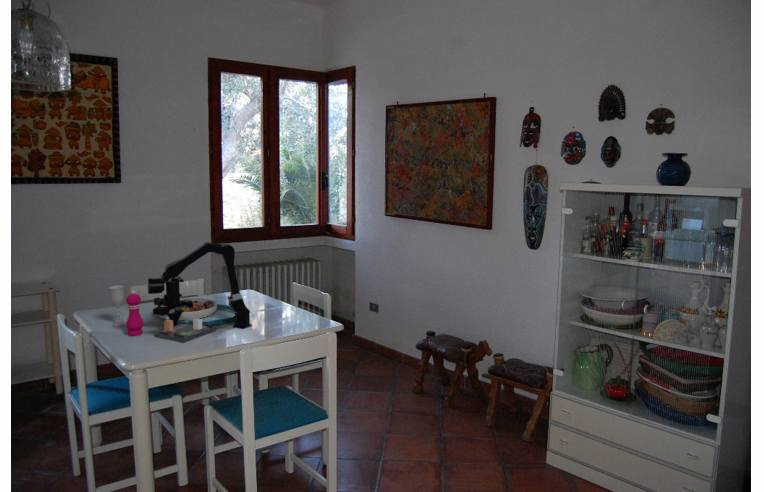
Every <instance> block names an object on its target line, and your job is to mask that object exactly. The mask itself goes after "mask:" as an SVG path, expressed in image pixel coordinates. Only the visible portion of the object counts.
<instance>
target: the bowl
mask: <svg viewBox="0 0 764 492" xmlns="http://www.w3.org/2000/svg"><path fill="white" fill-rule="evenodd" d="M181 300H190V301H192V302H193V307H191V308H188V307H187V306H184V307H181V308H182V310H184V311H183V312H182V314H181V316H180V318H179V320H189V321H192V320H191V319H195V318H201V319H204V318H203V317H205V318H207V316H208V317H210V316H211V315H213V314H215V312H216V310H217V309H218V302H216V301H215V300H213V299H209V298H201V297H198V298H197V297H191V298H190V297H187V298H186V297H185V298H184V297H182V298H180V301H181ZM156 307H158V305H154V308H156ZM161 307H167V306H163V305H162V306H161ZM154 308H153V309H154ZM156 316H157V317H158V318H159V319H162V320H165V317H168V315H164V316H160V315H156Z"/></svg>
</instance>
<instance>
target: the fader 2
mask: <svg viewBox="0 0 764 492" xmlns="http://www.w3.org/2000/svg"><path fill="white" fill-rule="evenodd" d="M192 321H193V329H197V330H199V329H202V324H203V318H201V319H199V318H195V319H193V320H192Z"/></svg>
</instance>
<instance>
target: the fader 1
mask: <svg viewBox="0 0 764 492" xmlns="http://www.w3.org/2000/svg"><path fill="white" fill-rule="evenodd" d="M173 327H174V326H173V320H165V319H164V320H163V330H165V331H172V330H174V329H173Z"/></svg>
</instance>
